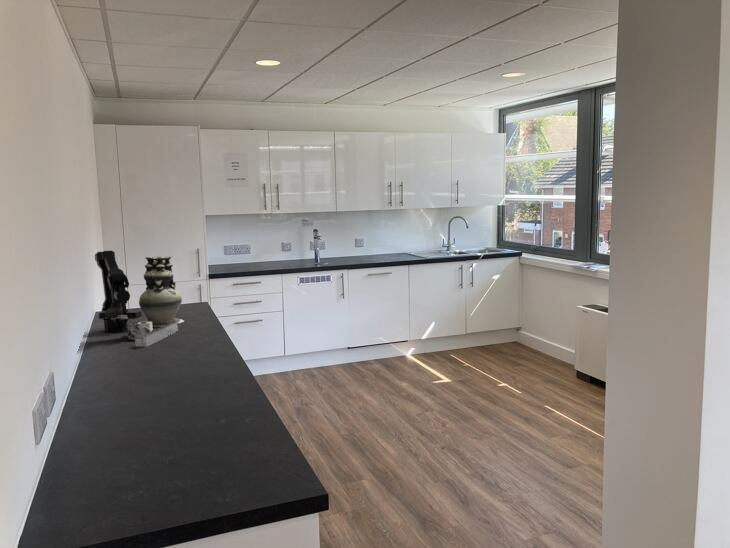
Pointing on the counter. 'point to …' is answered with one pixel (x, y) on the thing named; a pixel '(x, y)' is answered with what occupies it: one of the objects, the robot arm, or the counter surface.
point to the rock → (136, 331)
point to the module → (146, 324)
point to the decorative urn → (160, 292)
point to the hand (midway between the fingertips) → (121, 332)
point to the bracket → (157, 334)
